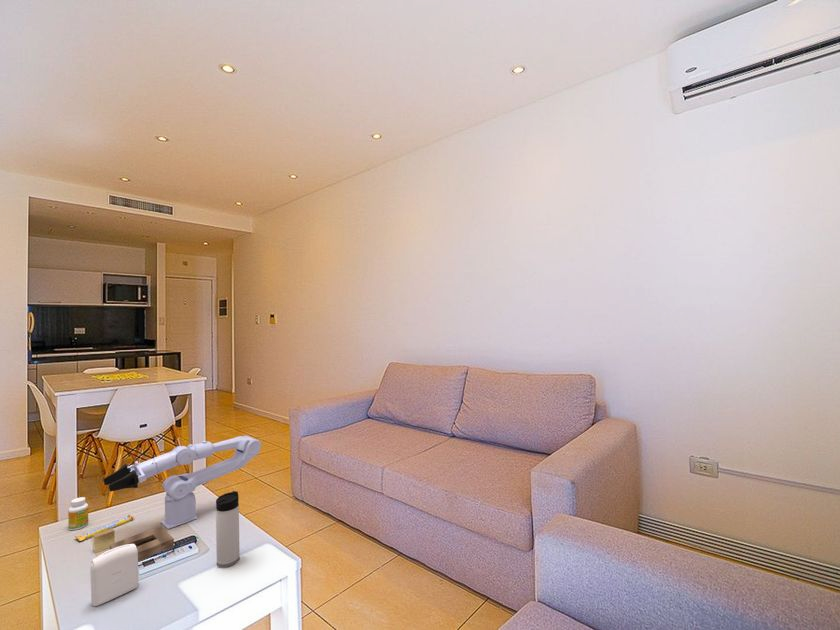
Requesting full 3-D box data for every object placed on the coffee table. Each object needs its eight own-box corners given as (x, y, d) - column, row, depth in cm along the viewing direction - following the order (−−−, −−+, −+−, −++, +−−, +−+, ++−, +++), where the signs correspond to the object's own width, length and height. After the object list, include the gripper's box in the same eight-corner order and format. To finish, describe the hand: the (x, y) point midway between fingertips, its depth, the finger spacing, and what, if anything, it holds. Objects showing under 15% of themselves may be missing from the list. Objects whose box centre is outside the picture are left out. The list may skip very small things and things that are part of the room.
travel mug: (245, 556, 121) (244, 492, 121) (228, 569, 115) (227, 501, 115) (229, 553, 123) (228, 489, 123) (211, 565, 117) (210, 499, 117)
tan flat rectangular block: (112, 543, 130) (112, 528, 130) (114, 545, 128) (114, 530, 128) (93, 550, 126) (93, 534, 126) (95, 553, 125) (95, 537, 125)
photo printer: (92, 609, 100) (92, 561, 100) (89, 601, 103) (88, 554, 103) (140, 587, 108) (140, 543, 108) (136, 581, 111) (135, 537, 111)
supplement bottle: (76, 531, 138) (76, 503, 138) (64, 529, 139) (64, 502, 139) (92, 523, 143) (91, 496, 143) (80, 522, 144) (80, 495, 144)
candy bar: (129, 518, 147) (129, 513, 147) (135, 520, 145) (135, 515, 145) (73, 540, 132) (73, 535, 132) (79, 544, 130) (79, 538, 130)
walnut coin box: (161, 537, 133) (161, 525, 133) (174, 551, 125) (173, 538, 125) (110, 557, 122) (109, 544, 122) (119, 573, 114) (119, 559, 114)
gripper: (146, 451, 142) (99, 468, 132) (158, 460, 133) (109, 479, 123) (149, 469, 143) (103, 487, 133) (162, 479, 134) (114, 500, 124)
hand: (106, 485), depth 128 cm, fingers open, 7 cm apart
